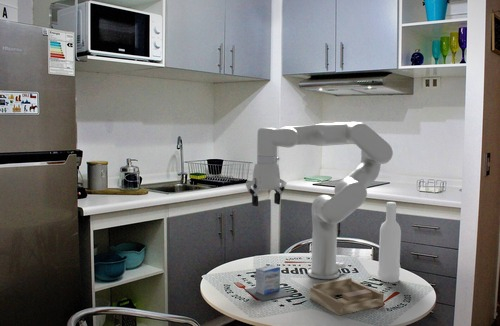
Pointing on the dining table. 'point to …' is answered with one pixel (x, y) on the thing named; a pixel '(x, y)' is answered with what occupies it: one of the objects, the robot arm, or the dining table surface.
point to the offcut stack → (356, 297)
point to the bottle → (389, 246)
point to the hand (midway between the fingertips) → (266, 204)
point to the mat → (271, 296)
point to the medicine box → (267, 279)
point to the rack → (327, 289)
